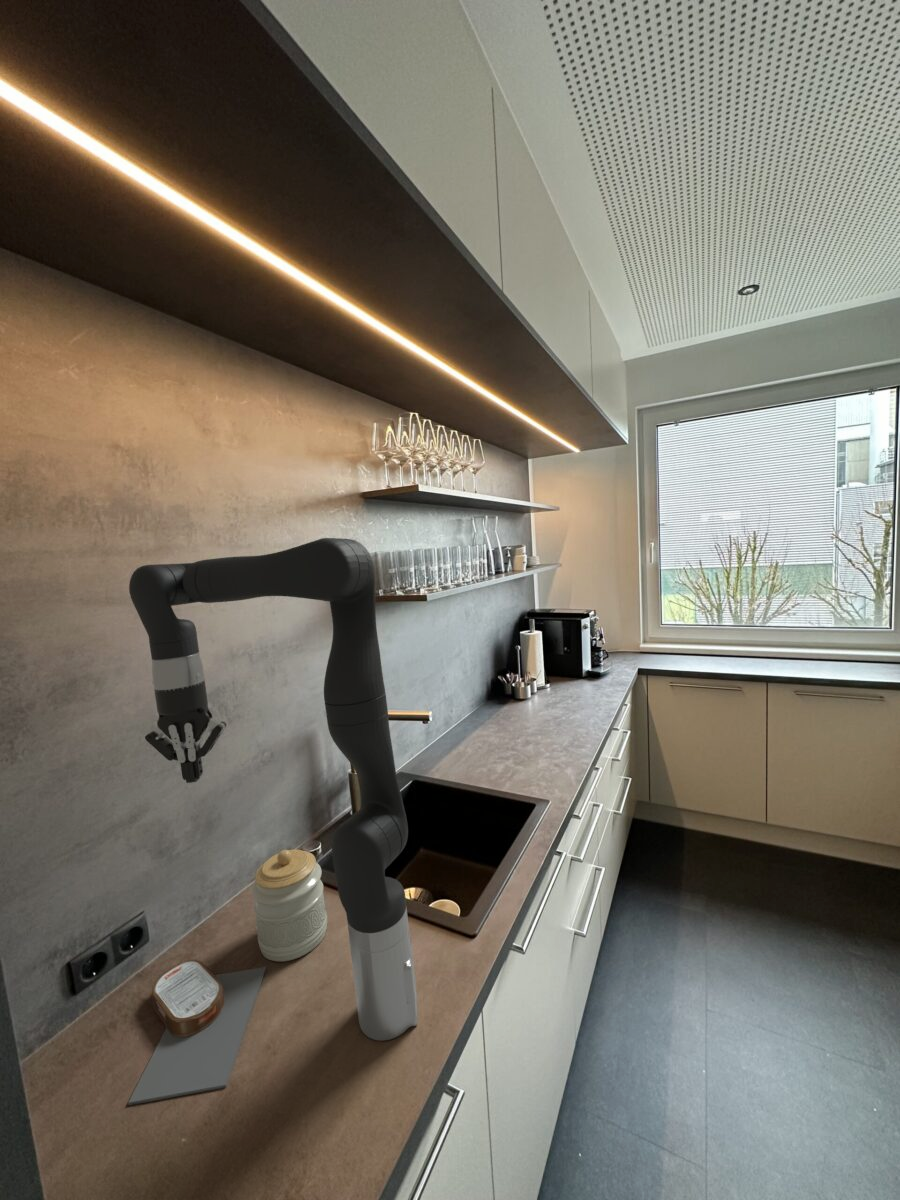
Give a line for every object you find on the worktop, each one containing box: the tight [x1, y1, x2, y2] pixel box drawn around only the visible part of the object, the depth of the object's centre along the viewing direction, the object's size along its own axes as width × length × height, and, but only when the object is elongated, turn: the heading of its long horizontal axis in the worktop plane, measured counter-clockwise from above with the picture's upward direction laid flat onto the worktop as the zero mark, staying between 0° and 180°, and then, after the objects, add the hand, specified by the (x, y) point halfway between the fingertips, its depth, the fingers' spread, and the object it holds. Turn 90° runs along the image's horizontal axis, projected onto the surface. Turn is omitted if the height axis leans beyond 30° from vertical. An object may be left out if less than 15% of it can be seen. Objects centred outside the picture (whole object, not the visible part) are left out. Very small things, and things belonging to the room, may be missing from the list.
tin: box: [151, 959, 225, 1037], centre depth 81 cm, size 15×3×8 cm
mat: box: [127, 966, 267, 1106], centre depth 77 cm, size 13×20×1 cm, turn 6°
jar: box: [251, 849, 328, 962], centre depth 94 cm, size 13×13×18 cm
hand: (193, 780), depth 83 cm, fingers closed
